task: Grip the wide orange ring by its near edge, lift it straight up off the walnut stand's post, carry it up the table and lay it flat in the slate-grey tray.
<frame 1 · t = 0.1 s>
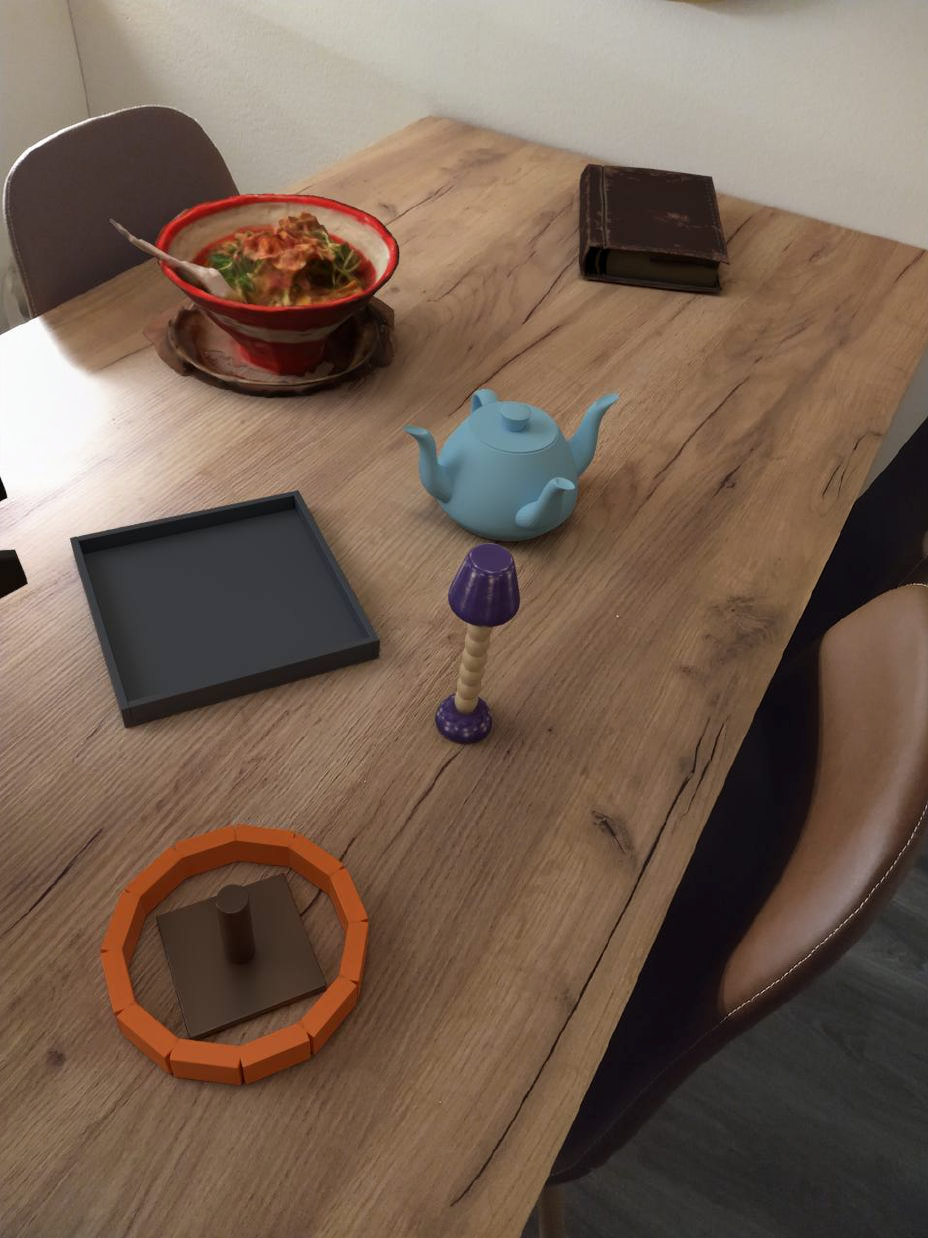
hand: (11, 522, 56), 20 cm above the table, tool horizontal, fingers open, 7 cm apart
teapot: (506, 513, 93), on the table
tray: (222, 605, 81), on the table
stand: (240, 954, 61), on the table
ring: (240, 954, 61), on the table
stew: (270, 353, 108), on the table
toy lamp: (465, 726, 75), on the table
diary: (646, 245, 134), on the table
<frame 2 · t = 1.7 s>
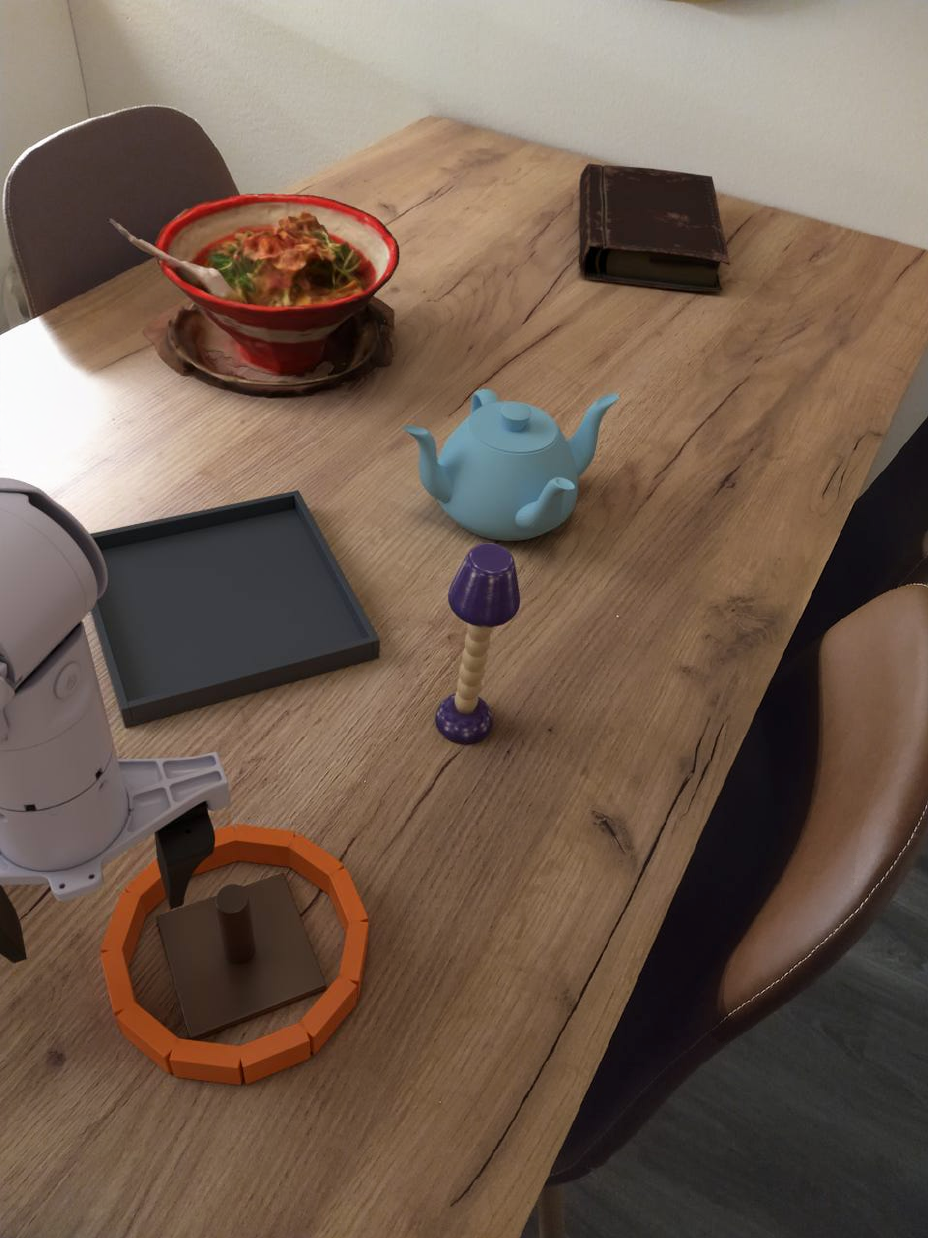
hand: (96, 917, 52), 9 cm above the table, tool pointing down, fingers open, 7 cm apart
nothing on the table moved.
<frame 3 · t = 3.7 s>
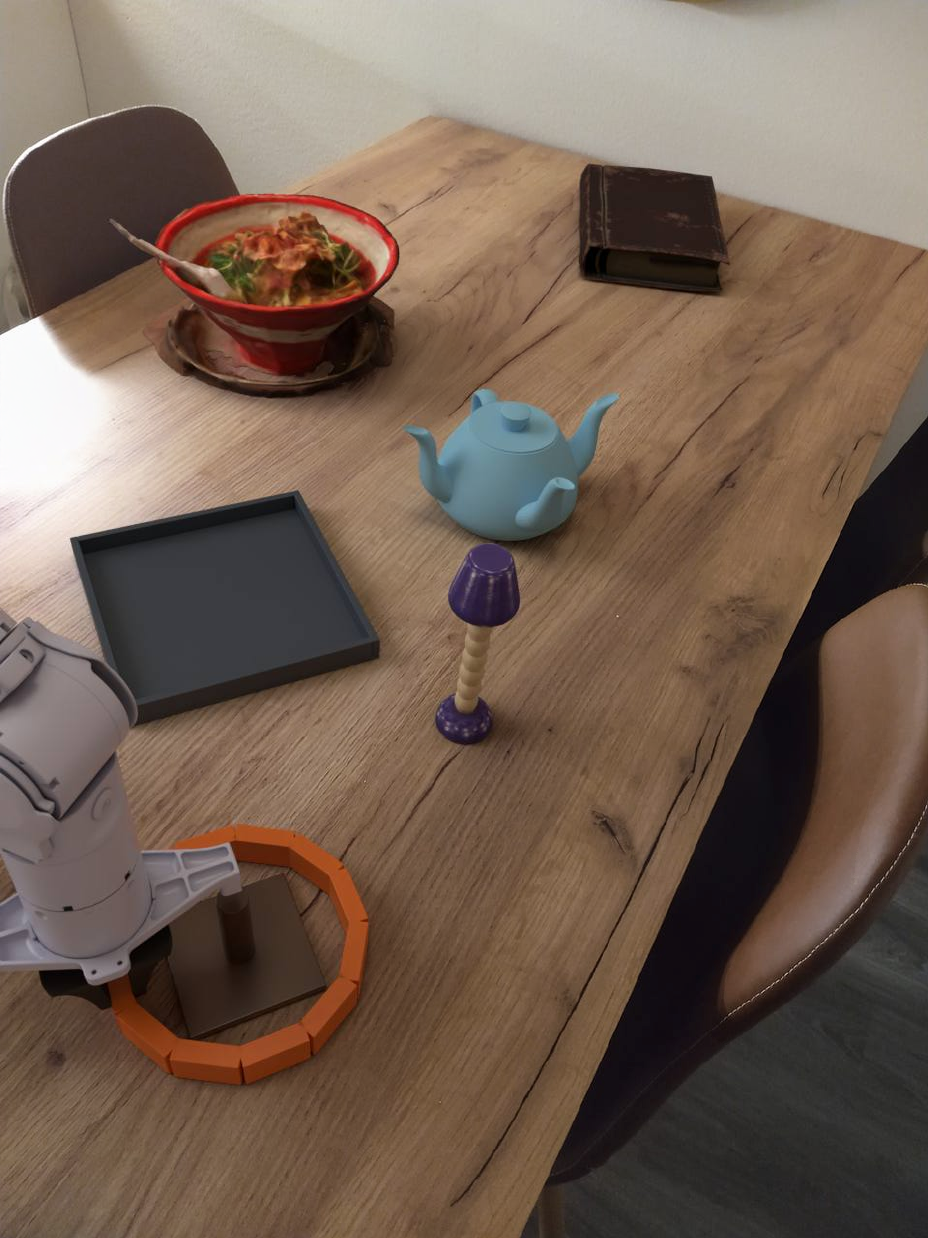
hand: (120, 986, 57), 1 cm above the table, tool pointing down, fingers closed on ring, 1 cm apart
ring: (240, 954, 61), on the table, touching gripper
everything else where it was.
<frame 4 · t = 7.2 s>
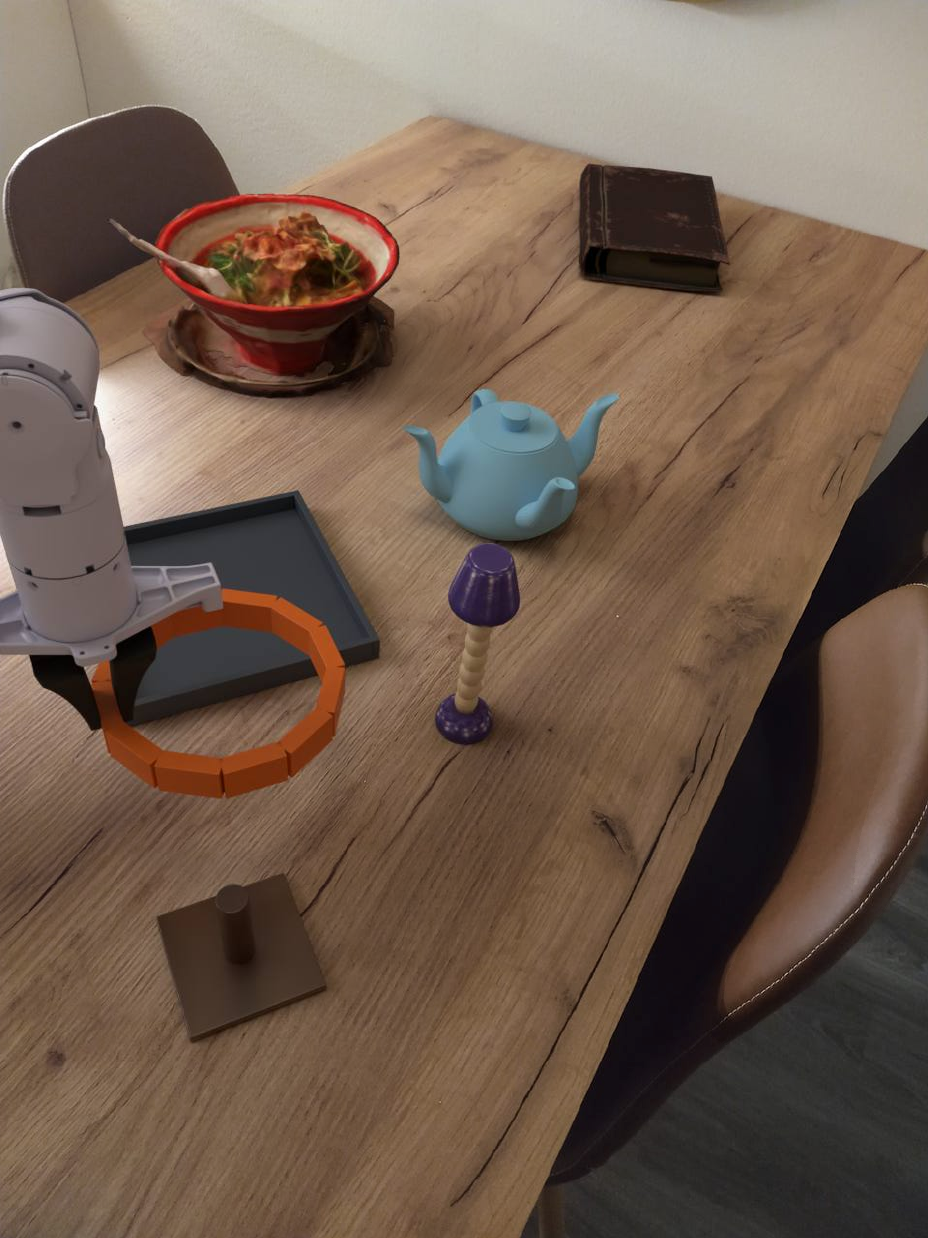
hand: (109, 713, 61), 9 cm above the table, tool pointing down, fingers closed on ring
ring: (223, 699, 64), point 8 cm above the table, touching gripper
everything else where it was.
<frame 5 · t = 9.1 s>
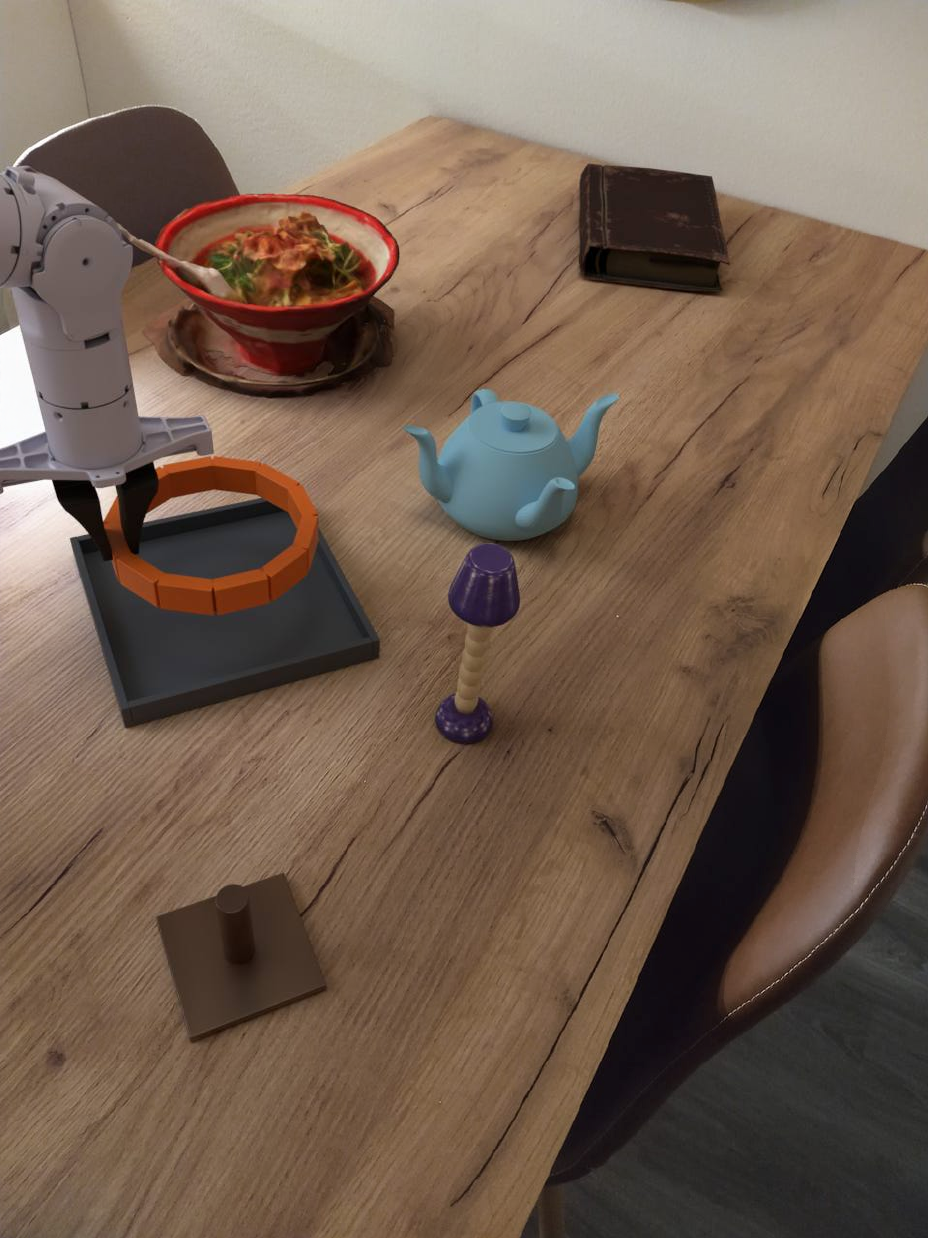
hand: (118, 549, 72), 8 cm above the table, tool pointing down, fingers closed on ring
ring: (215, 543, 76), point 7 cm above the table, touching gripper
everything else where it was.
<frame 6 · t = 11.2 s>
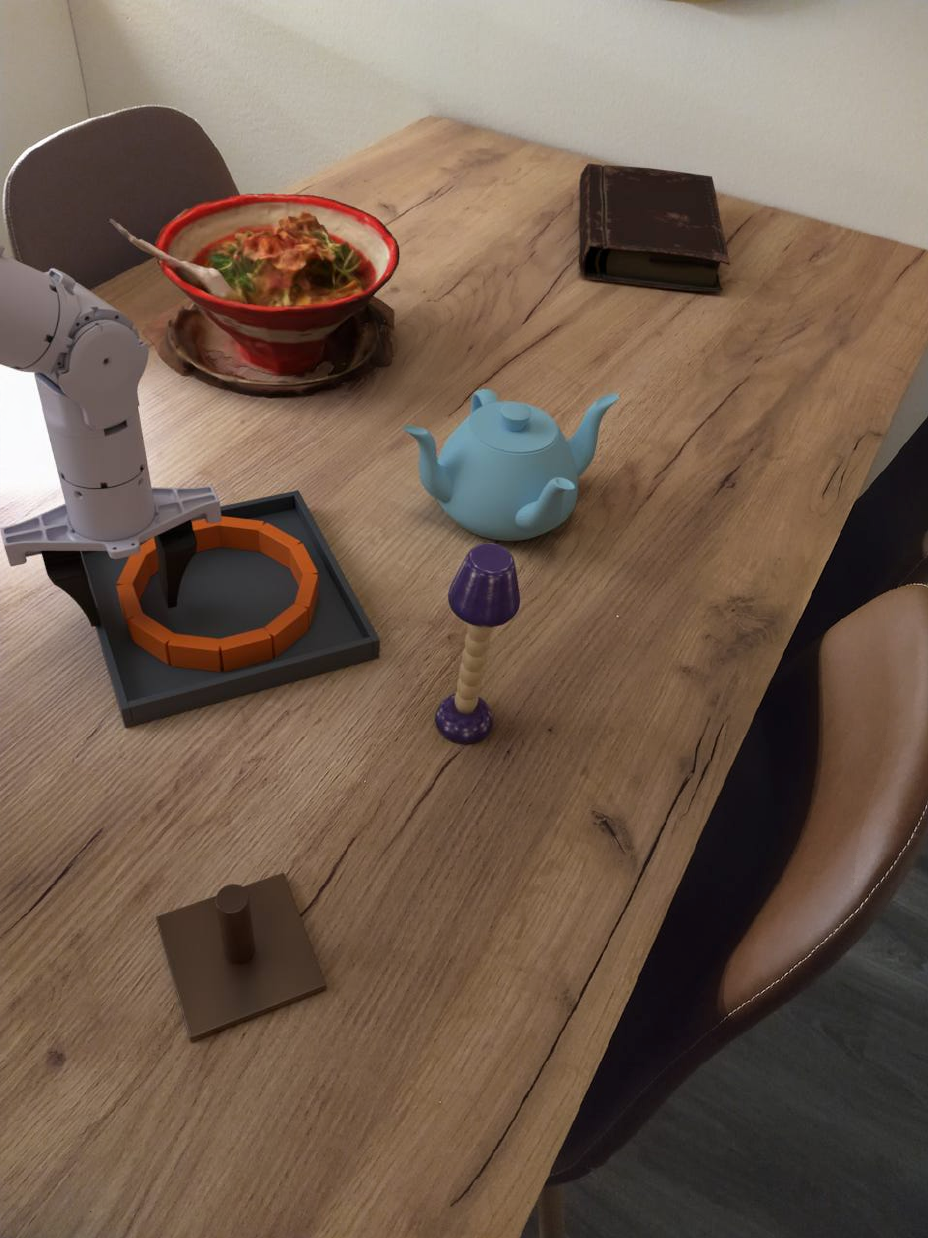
hand: (132, 607, 77), 2 cm above the table, tool pointing down, fingers open, 5 cm apart
ring: (221, 600, 81), resting on tray
everything else where it was.
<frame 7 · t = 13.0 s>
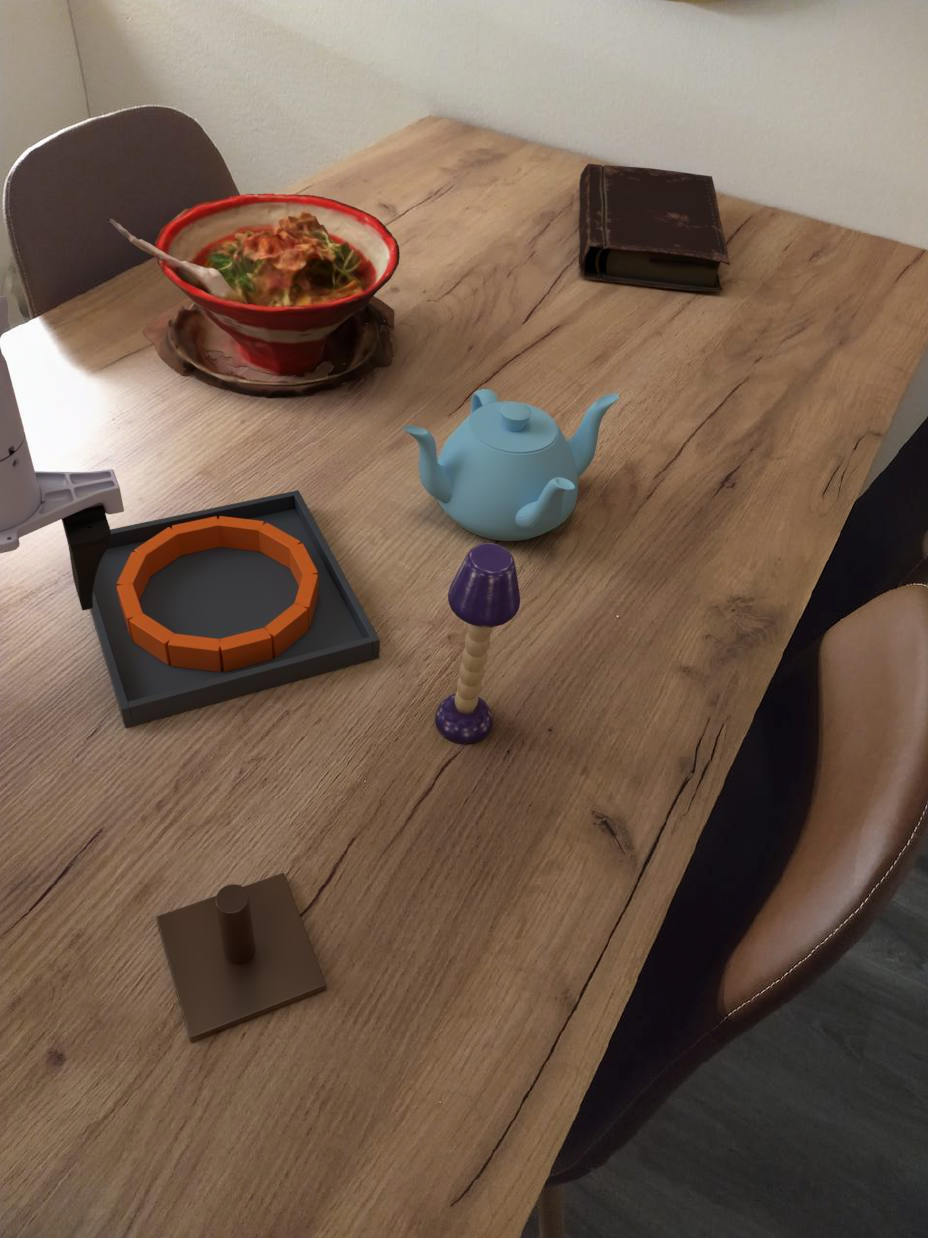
hand: (23, 613, 66), 9 cm above the table, tool pointing down, fingers open, 7 cm apart
nothing on the table moved.
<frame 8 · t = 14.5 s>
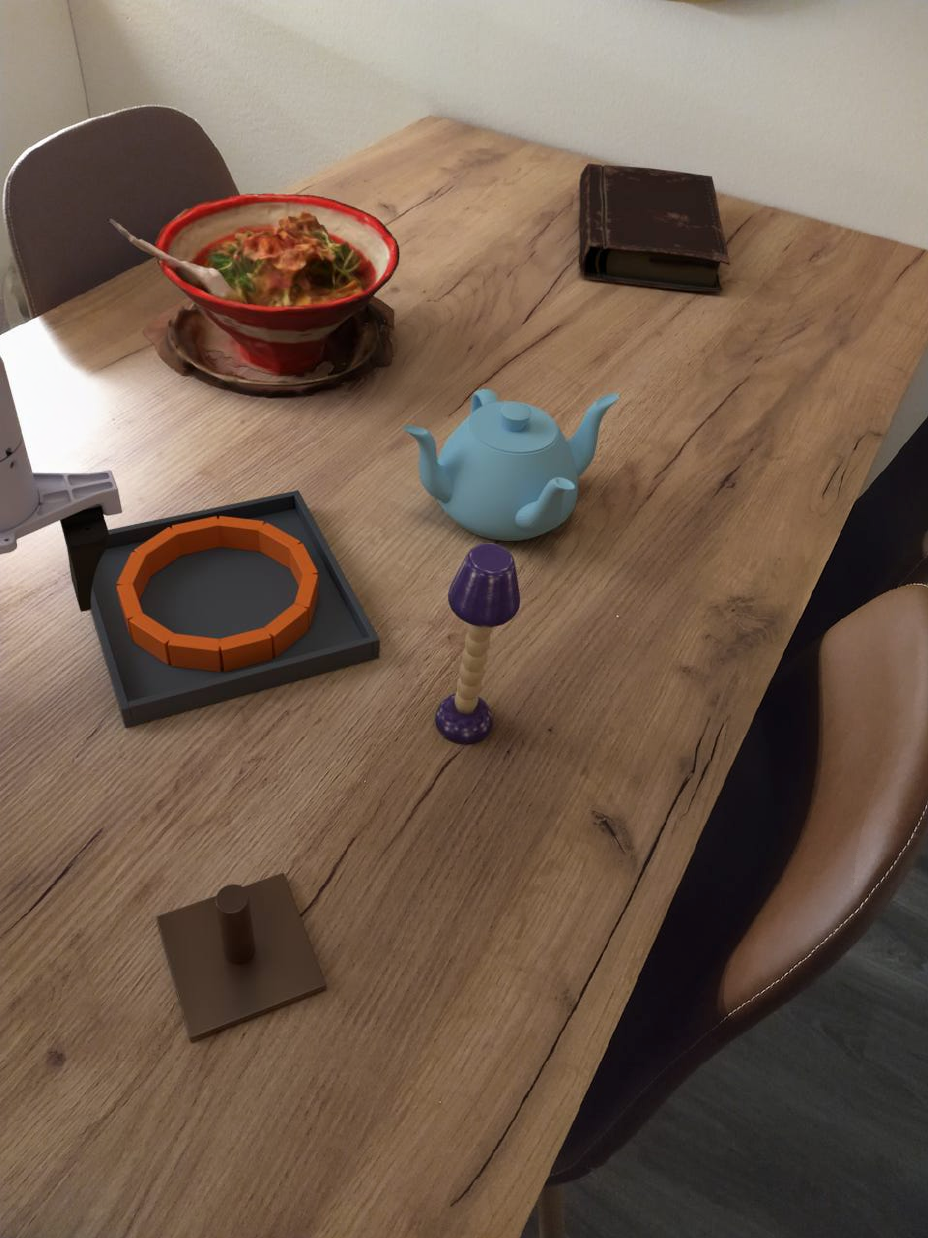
hand: (21, 615, 66), 9 cm above the table, tool pointing down, fingers open, 7 cm apart
nothing on the table moved.
at the end: ring inside the target area in the tray (0.0 cm from its centre), point 0.5 cm above the tray's base; ring tilted 0°; the gripper is holding nothing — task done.
